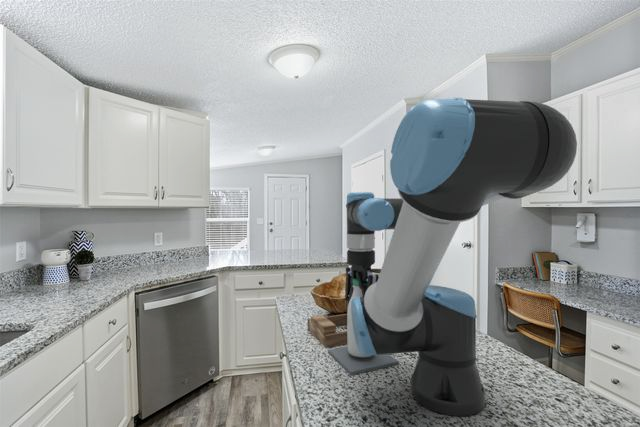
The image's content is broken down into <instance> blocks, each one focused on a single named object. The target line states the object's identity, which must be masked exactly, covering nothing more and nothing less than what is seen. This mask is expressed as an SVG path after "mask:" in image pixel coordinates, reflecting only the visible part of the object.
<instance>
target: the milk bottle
mask: <svg viewBox="0 0 640 427" xmlns="http://www.w3.org/2000/svg"><path fill="white" fill-rule="evenodd" d="M363 285H367V284H363ZM353 287H354V290H353V294H352V297H351V299H350V301H349V304H348V312H347V311H346V314H347V325H346V327H347V330H346V331H347V344H346V345H347V346H348V352H349V353H350V354H351V355H353V356H356V357H370V356H373V355H363V354H362V353H361V352H360V351H359V349H358V347H357V344H356V340H355V335H354V330H353V324H352V315H351V301H352V299H353V298H355V297H358V296H361V297H363V295H362V290H361V289H360V288H359V283H358V279H356V278H354V279H353Z"/></svg>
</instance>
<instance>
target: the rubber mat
mask: <svg viewBox="0 0 640 427" xmlns="http://www.w3.org/2000/svg"><path fill="white" fill-rule="evenodd" d="M327 353H328V354H329V356H330V357H332V358H333V359H334V360H335V362H337V363H338V365H340V366H341V367H342V369H344V370H345V371H346V372H347V373H348V374H349V375H350V376H355V375H359V374H362V373H367V372H371V371H376V370H380V369H384V368H388V367H394V366H399V364H400V363H399V362H400V361H399V360H397V359H396V358H395V357H393V356H391V354H385V355H378V356H375V355H373V356H370V357H356V356H353V355H351V354H350V353H349V352H348V345H346V346H345V345H344V346H342V347H341V346H339V347H336V348H330V349H329V348H328V349H327Z"/></svg>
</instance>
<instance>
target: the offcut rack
mask: <svg viewBox="0 0 640 427" xmlns="http://www.w3.org/2000/svg"><path fill="white" fill-rule="evenodd" d="M347 312H348V301H346V313H341V314H336V315H329V316H328V315H327V316H325V315H323V314H318V315H311V316H310V318H308V319H307V330H308V331H309V332H310V333H311V334H312V335H313V336H314V338H316V339H317V340H318V342H320V343H322V345H323V346H324V347H325V348H327V349H329V348H333V347H341V346H343V345H344V346H345V345H348V344H347V330H344V331H338V332H337V327H343V326H347Z"/></svg>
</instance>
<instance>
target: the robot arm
mask: <svg viewBox="0 0 640 427" xmlns="http://www.w3.org/2000/svg"><path fill="white" fill-rule="evenodd" d="M577 140H578V139H577V134H576V132H575V130H574V128H573V126H572V124H571V122H570V121H569V120H568V118H567V117H566V116H565V115H564V114H563V113H561V112H560V111H558V110H557V109H556V108H554V107H552V106H550V105H548V104H544V103H541V102H536V101H523V100H521V101H514V100H513V101H512V100H511V101H510V100H487V99H466V98H465V99H464V98H463V97H456V96H454V97H447V98H430V99H425V100H422V101H420V102H418V103H417V104H415V105H414V106H411V108H410V109H409V110H408V111H407V113H405V115H404V116H403V118H402V119H401V120H400V123H399V125H398V127H397V129H396V132H395V134H394V137H393V141H392V144H391V149H390V153H391V154H392V156H391V158H390V162H389V165H390V166H389V168H390V169H389V170H390V175H391V179H392V182H393V184H394V186H395V187H396V188H397V192H398V195H399V197H400V198H397V197H396V198H380V197H375V194H374V192H371V191H370V192H369V191H363V192H362V191H356V192H355V191H354V192H348V193H347V195H346V204H345V207H346V248H347V249H348V250H347V252H346V262H347V264H348V265H349V266H347V267H346V268H345V273H346V275H345V276H346V278H345V289H344V290H345V291H344V293H345V294H344V301H346V302H347V301H348V304H349V301H350V299H351V297H352V294H353V290H354V287H353V279H354V278H356V279H358V283H359V288H360V289H361V290H362V295H363V297H361V296H358V297H355V298H353V299H352V301H351V315H352V324H353V330H354V335H355V340H356V344H357V347H358V349H359V351H360V352H361V353H362V354H363V355H375V356H378V355H385V354H389V355H394V354H405V353H416V352H417V353H418V356H417V357H418V358H417V360H416V363H415V367H414V371H413V373H412V375H411V377H410V394H411V396H412V398H414V400H415V401H416V402H417V403H419V404H420V405H421V406H423V407H424V408H426V409H428V410H431V411H433V412H436V413H439V414H443V415H448V416H455V417H463V416H465V417H466V416H472V415H476V414H478V413H480V412H481V411H483V409H484V408H485V406H486V392H485V388H484V386H483V384H482V379H481V377H480V373H479V370H478V367H477V363H476V362H477V361H476V359H477V358H476V356H477V347H476V346H477V345H476V344H477V343H476V342H477V340H476V339H477V337H476V336H477V334H476V333H477V326H476V325H477V322H476V320H477V318H478V315H477V311H476V310H477V309H476V301H475V299H474V298H473V296H472V295H470V294H469V293H467V292H465V291H461V290H460V289H455V288H451V287H447V286H440V285H434V284H431V282H432V279H433V278H434V276H435V273H436V272H437V270H438V268H439V265H440V263H441V261H442V260H443V258H444V256H445V254H446V252H447V250H448V248H449V246H450V243H452V240H453V238H454V236H455V234H456V232H457V230H458V228H459V226H460V224H461V223H463V222H467V221H470V220H471V219H474V218H475V217H476V216H477V215H478V214H479V212H480V210H481V209H482V207H484V206H486V205H488V204H491V203H493V202H496V201H499V200H501V199H508V200H509V199H510V200H518V199H522V198H525V197H527V196H530V195H533V194H536V193H539V192H541V191H545V190H546V189H548V188H550V187H553V186H554V185H555V184H556V183H559V182H560V180H563V178H564V177H565V176H566V175H567V173H569V171H570V169H571V167H572V166H573V164H574V162H575V159H576V155H577V149H578V141H577ZM384 230H393V232H392V236H391V239H390V241H389V245H388V247H387V251H386V254H385V257H384V260H383V264H382V266H381V268H380V272H379V275H378V274H374V273H373V271H372V266H373V265H375V262H376V251H375V250H374V249H375V248H376V246H375V245H376V242H375V240H376V237H375V233H376V231H377V232H380V231H384ZM363 284H367V285H363Z"/></svg>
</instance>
